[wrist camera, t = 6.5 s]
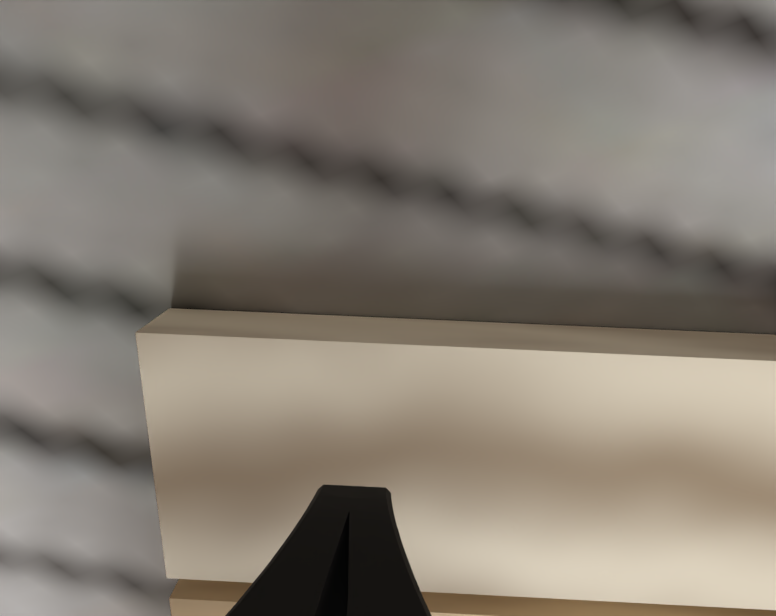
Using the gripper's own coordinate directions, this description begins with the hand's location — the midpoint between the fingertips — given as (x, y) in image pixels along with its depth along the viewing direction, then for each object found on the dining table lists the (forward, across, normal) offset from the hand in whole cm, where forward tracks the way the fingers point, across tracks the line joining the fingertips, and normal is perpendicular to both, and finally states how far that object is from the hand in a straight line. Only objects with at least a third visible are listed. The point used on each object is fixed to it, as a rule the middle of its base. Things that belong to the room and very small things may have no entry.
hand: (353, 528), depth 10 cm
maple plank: (+6, -6, +2) cm, 9 cm away
